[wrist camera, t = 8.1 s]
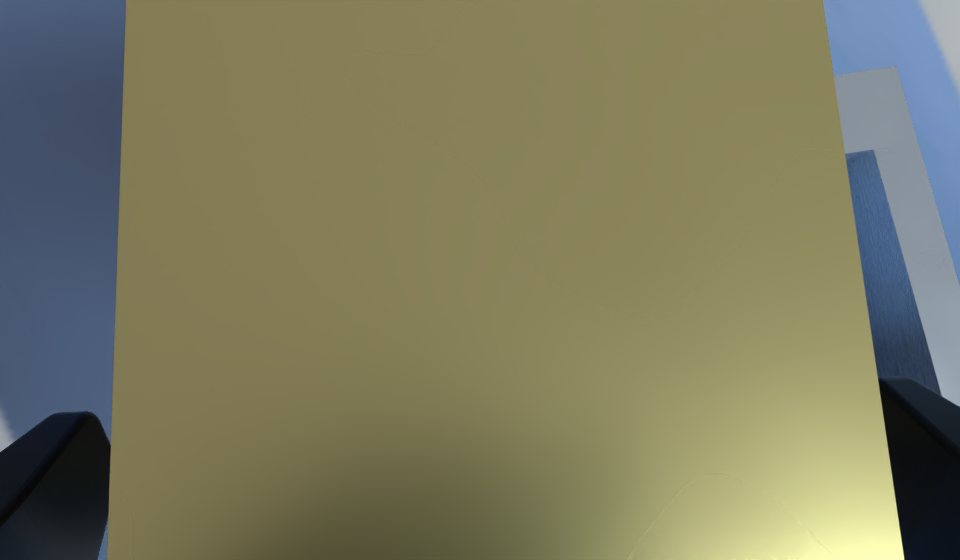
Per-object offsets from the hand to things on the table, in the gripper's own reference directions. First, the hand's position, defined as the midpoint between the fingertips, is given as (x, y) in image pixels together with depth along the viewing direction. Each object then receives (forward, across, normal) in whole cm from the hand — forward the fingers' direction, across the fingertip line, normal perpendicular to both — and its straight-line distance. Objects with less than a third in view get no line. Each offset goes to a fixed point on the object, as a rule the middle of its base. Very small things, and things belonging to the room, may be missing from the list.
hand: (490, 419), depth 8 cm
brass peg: (+7, 0, +5) cm, 8 cm away
